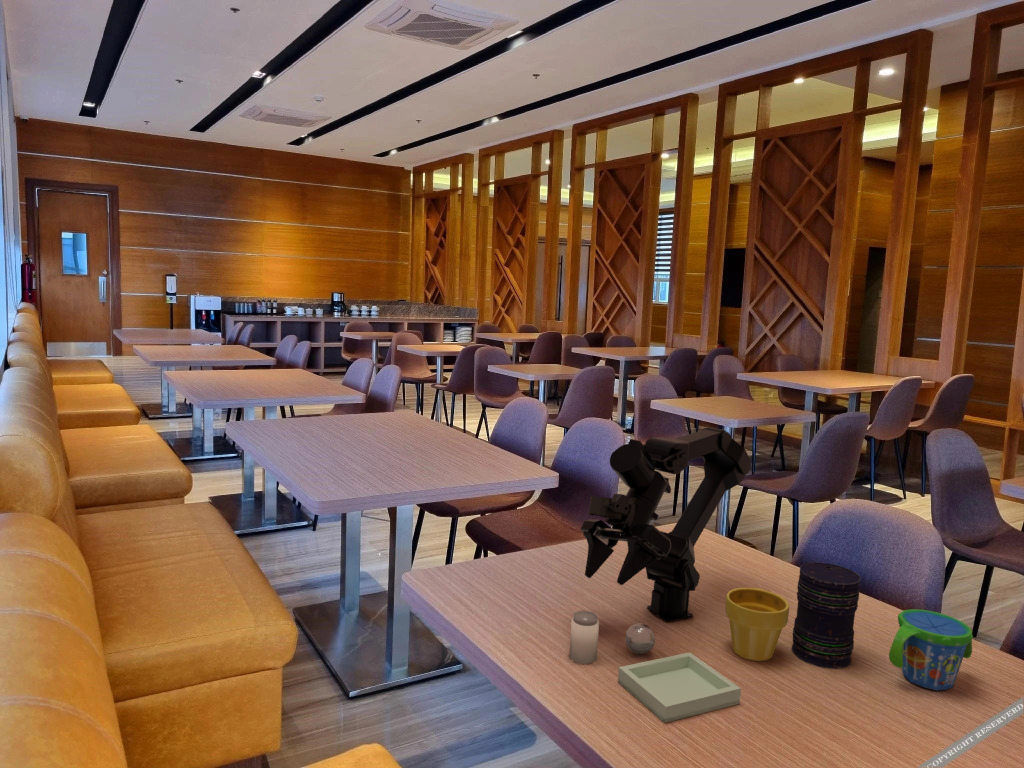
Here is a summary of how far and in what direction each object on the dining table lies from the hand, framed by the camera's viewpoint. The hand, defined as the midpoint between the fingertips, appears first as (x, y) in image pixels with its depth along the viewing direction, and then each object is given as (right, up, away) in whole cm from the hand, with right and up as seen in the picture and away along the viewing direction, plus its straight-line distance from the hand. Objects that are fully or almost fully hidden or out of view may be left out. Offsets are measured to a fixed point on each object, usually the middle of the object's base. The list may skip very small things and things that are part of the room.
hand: (602, 580), depth 128 cm
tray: (+10, -15, -11) cm, 21 cm away
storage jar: (+39, -14, +4) cm, 41 cm away
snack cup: (+53, -16, -3) cm, 56 cm away
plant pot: (+26, -14, +4) cm, 30 cm away
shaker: (-3, -13, -1) cm, 13 cm away
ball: (+6, -13, +2) cm, 14 cm away
